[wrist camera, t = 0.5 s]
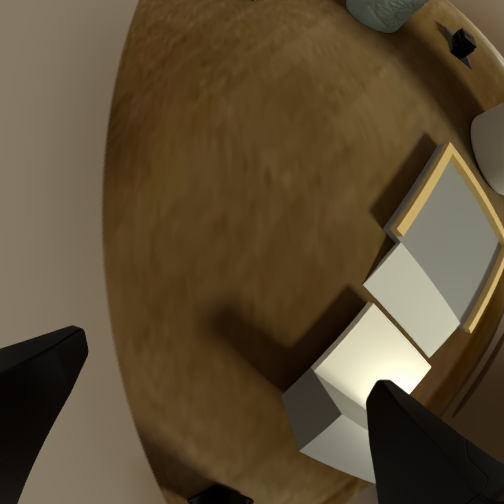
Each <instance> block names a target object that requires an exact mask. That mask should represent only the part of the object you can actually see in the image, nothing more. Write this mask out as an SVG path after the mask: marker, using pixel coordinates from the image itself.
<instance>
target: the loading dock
mask: <svg viewBox="0 0 504 504" xmlns="http://www.w3.org/2000/svg"><path fill="white" fill-rule="evenodd" d="M383 230H384V231H385V232H386V233H387V234H388V235H389V237H390V238H391V239H392V240H393V241H394V242H395V245H394V246H393V247H392V248H391V250H390V251H389V252H388V253H387V254H386V255H385V256H384V258H383V259H382V260H381V262H380V263H379V264H378V266H377V267H376V268H375V270H374V271H373V272H372V274H371V275H370V276H369V278H368V279H367V280H366V281H365V283H364V284H363V285H364V286H365V287H366V289H367V290H368V291H369V292H370V293H371V294H372V295H373V296H374V297H375V298H376V299H377V300H378V301H379V302H380V303H381V304H382V305H383V307H384V308H385V309H386V310H387V311H388V312H389V313H390V314H391V315H392V316H393V317H394V318H395V320H396V321H397V322H398V323H399V324H400V325H401V326H402V327H403V328H404V330H405V331H406V332H407V333H408V334H409V335H410V336H411V337H412V339H413V340H414V341H415V342H416V343H417V344H418V346H419V347H420V348H421V349H422V350H423V351H424V352H425V354H426V355H427V356H428V357H429V358H430V357H431V356H432V355H433V353H434V352H435V351H436V350H437V349H438V348H439V347H440V346H441V345H442V344H443V343H444V342H445V341H446V339H447V338H448V337H449V336H450V335H451V334H452V333H453V331H454V330H455V329H456V328H457V327H458V328H459V330H461V331H464V332H466V331H467V332H470V333H472V331H473V329H474V327H475V326H476V324H477V322H478V320H479V319H480V317H481V315H482V313H483V311H484V309H485V307H486V305H487V303H488V301H489V299H490V297H491V295H492V293H493V291H494V289H495V287H496V285H497V282H498V280H499V278H500V276H501V273H502V271H503V268H504V228H503V226H502V224H501V222H500V220H499V218H498V216H497V215H496V213H495V211H494V209H493V207H492V205H491V203H490V202H489V200H488V198H487V196H486V195H485V193H484V191H483V190H482V188H481V186H480V185H479V183H478V181H477V180H476V178H475V177H474V175H473V174H472V172H471V171H470V169H469V168H468V166H467V165H466V163H465V162H464V160H463V159H462V158H461V156H460V155H459V153H458V152H457V151H456V149H455V148H454V147H453V145H452V144H451V143H450V142H449V143H447V144H445V145H444V144H441V145H439V146H437V147H436V149H435V150H434V152H433V154H432V155H431V157H430V159H429V160H428V162H427V164H426V165H425V167H424V168H423V170H422V172H421V173H420V175H419V176H418V178H417V179H416V181H415V183H414V184H413V186H412V187H411V189H410V190H409V192H408V193H407V195H406V196H405V198H404V199H403V201H402V202H401V203H400V205H399V206H398V208H397V209H396V211H395V212H394V213H393V215H392V216H391V218H390V219H389V220H388V222H387V223H386V225H385V226H384V227H383Z"/></svg>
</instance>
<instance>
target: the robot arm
mask: <svg viewBox="0 0 504 504" xmlns="http://www.w3.org/2000/svg"><path fill="white" fill-rule="evenodd" d="M87 356H88V345H87V341H86V336H85V332H84V330H83V329H82V328H79V327H76V326H73V325H72V326H69V327H65V328H62V329H59V330H56V331H54V332H50V333H47V334H44V335H41V336H38V337H35V338H32V339H29V340H26V341H23V342H20V343H17V344H14V345H11V346H7V347H4V348H1V349H0V504H17V503H18V501H19V498H20V495H21V493H22V490H23V488H24V485H25V482H26V480H27V478H28V476H29V473H30V471H31V469H32V466H33V464H34V462H35V460H36V458H37V456H38V454H39V451H40V449H41V447H42V445H43V443H44V441H45V439H46V437H47V435H48V433H49V431H50V429H51V427H52V426H53V424H54V422H55V420H56V418H57V416H58V415H59V413H60V411H61V409H62V407H63V406H64V404H65V402H66V400H67V398H68V397H69V395H70V393H71V391H72V389H73V387H74V384H75V382H76V380H77V378H78V375H79V373H80V371H81V369H82V367H83V365H84V362H85V360H86V358H87ZM366 412H367V423H368V436H369V445H370V452H371V457H372V463H373V469H374V475H375V481H376V488H377V495H378V503H379V504H504V463H502V462H500V461H499V460H497V459H495V458H494V457H492V456H490V455H489V454H487V453H486V452H484V451H483V450H481V449H480V448H479V447H477V446H476V445H474V444H473V443H472V442H470V441H469V440H468V439H465V437H464V436H462V435H461V434H460V433H458V432H457V431H456V430H454V429H453V428H452V427H451V426H449V425H448V424H447V423H445V422H444V421H443V420H441V419H440V418H439V417H438V416H436V415H435V414H434V413H432V412H431V411H430V410H428V409H427V408H426V407H425V406H423V405H422V404H421V403H419V402H418V401H417V400H416V399H414V398H413V397H412V396H410V395H409V394H408V393H407V392H405V391H404V390H403V389H402V388H400V387H399V386H398V385H396V384H395V383H394V382H393V381H391V380H389V379H380V380H378V381H376V383H375V384H374V386H373V388H372V390H371V391H370V393H369V395H368V397H367V399H366ZM188 503H189V504H253V503H254V501H253V500H252V499H249V498H247V497H244V496H242V495H239V494H237V493H235V492H232V491H230V490H228V489H226V488H223V487H221V486H219V485H213V486H212V487H210V488H208V489H206V490H205V491H203V492H201V493H199V494H197V495H196V496H194V497H192V498H190V499H188Z"/></svg>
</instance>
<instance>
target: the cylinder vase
mask: <svg viewBox="0 0 504 504" xmlns="http://www.w3.org/2000/svg"><path fill="white" fill-rule="evenodd" d="M471 143H472V148H473V152H474V155H475V158H476V161H477V164H478V166H479V168H480V170H481V172H482V174H483V176H484V178H485V180H486V181H487V183H488V184H489V185H490V187H491V188H492V189H493V190H494V191H496V192H497V193H498V194H501V195H504V102H503V103H501V104H499V105H497V106H495V107H493V108H491V109H490V110H488V111H486V112H484V113H482V114H480V115H478V116H476V117H475V118H474V120H473V121H472V124H471Z"/></svg>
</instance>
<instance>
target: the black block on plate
mask: <svg viewBox="0 0 504 504" xmlns="http://www.w3.org/2000/svg"><path fill="white" fill-rule="evenodd" d="M444 28H445V31H446V35H447V39H448V44H449V48H450V52H451V53H452V54H453V55H454V56H456V57H457V58H458V59H459V60H461V61H462V62H463V63H464V64H466V65H467V66H468V67H469V68H470V69H471V70H472V67H471V63H470V59H469V54H470V53H471V52H473V51H474V49H475V48H476V43H475V41H474V38H473V36H472V35H470V34H469V33H468V32H467V31H466V30H464V29H463V28H461V29H459V30H458V31H457V32H456V33H455V34H454V33H453V32H452V31H450V30H449V29H447V28H446V27H445V26H444Z"/></svg>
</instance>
